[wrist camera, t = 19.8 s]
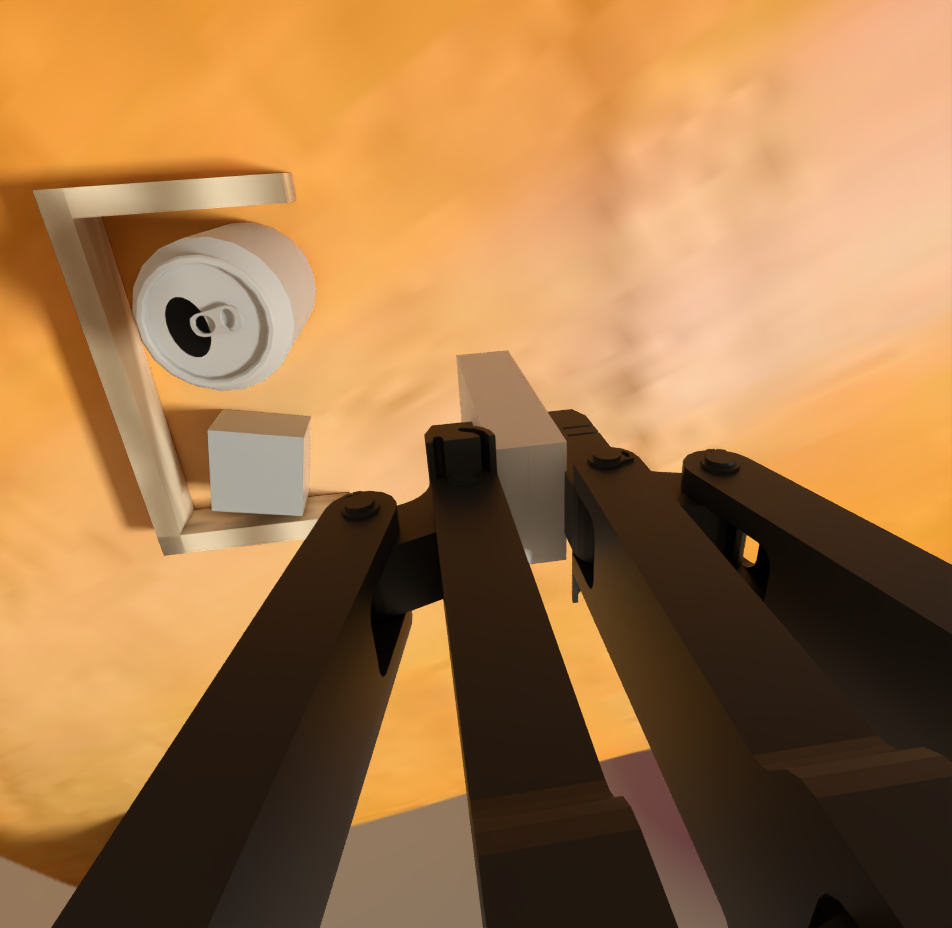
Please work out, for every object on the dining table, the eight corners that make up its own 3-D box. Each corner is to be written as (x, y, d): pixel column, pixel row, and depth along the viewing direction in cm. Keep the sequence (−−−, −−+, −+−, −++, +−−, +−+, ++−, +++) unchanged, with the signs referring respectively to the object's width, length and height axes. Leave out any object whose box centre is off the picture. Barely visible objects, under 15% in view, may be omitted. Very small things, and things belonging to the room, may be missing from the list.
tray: (179, 529, 45) (163, 555, 42) (64, 188, 35) (32, 190, 32) (352, 509, 46) (349, 533, 43) (291, 172, 36) (281, 172, 33)
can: (175, 236, 36) (84, 262, 26) (294, 207, 37) (253, 222, 26) (224, 352, 40) (161, 418, 29) (333, 326, 40) (310, 381, 29)
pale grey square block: (226, 483, 44) (211, 510, 41) (223, 408, 42) (207, 430, 38) (309, 488, 45) (302, 515, 42) (311, 415, 43) (304, 437, 39)
